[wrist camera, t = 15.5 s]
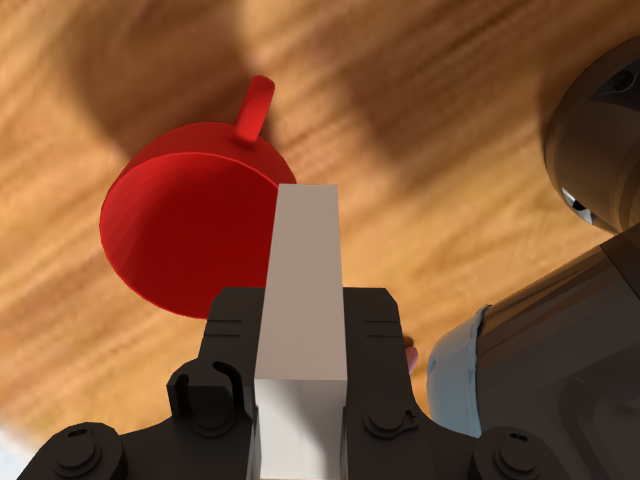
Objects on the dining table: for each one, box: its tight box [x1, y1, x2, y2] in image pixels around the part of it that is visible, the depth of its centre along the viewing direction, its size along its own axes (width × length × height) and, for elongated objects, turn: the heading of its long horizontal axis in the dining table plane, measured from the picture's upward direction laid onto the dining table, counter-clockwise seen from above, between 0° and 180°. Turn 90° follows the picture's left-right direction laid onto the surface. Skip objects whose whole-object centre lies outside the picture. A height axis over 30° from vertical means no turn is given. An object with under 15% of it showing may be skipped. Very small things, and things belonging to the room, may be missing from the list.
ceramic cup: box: [99, 75, 297, 319], centre depth 38 cm, size 13×17×10 cm
